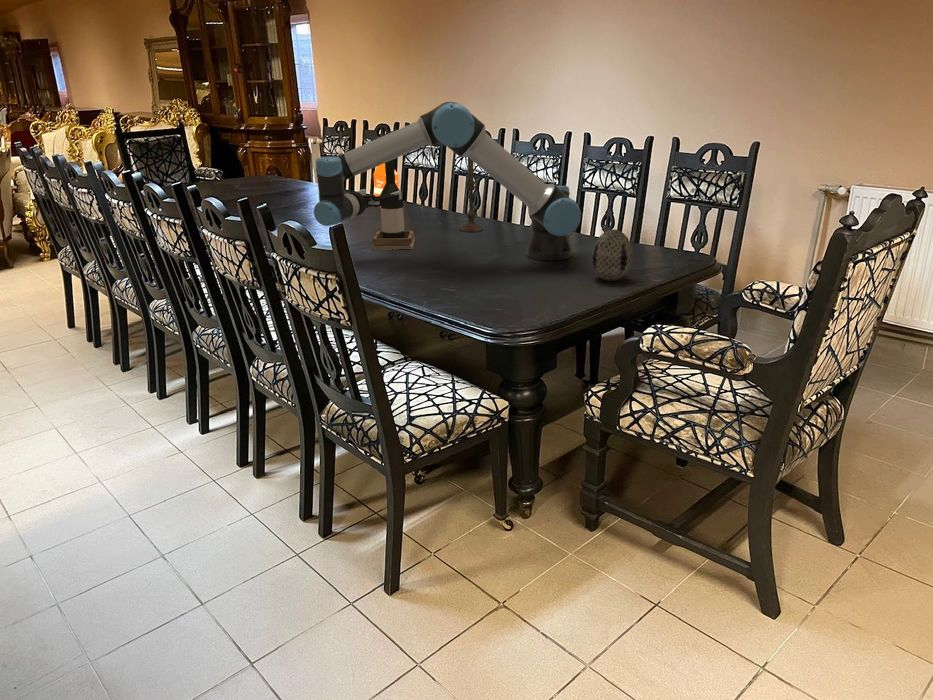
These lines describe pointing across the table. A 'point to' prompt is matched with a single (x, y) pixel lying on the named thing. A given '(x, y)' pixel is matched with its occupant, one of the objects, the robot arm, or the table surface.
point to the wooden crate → (393, 242)
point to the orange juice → (381, 179)
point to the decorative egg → (612, 255)
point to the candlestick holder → (471, 201)
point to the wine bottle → (392, 207)
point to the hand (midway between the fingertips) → (382, 193)
